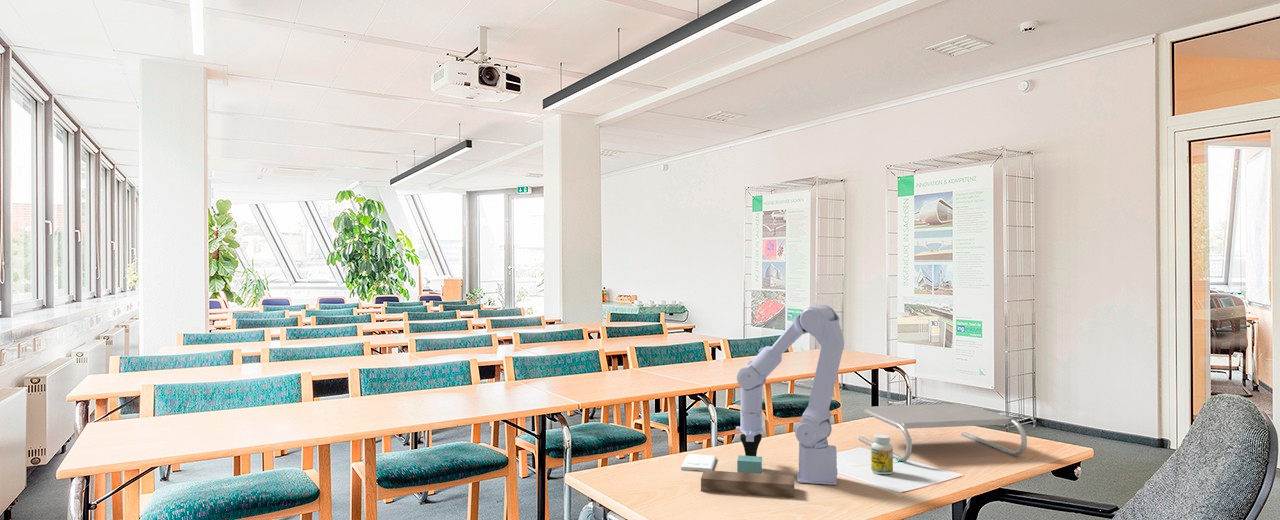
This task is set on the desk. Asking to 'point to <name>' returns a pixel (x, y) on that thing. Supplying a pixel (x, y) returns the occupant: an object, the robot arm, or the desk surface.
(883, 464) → the supplement bottle
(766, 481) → the walnut board
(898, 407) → the monitor stand
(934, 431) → the desk surface
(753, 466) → the teal block
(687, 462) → the external hard drive
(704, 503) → the desk surface
